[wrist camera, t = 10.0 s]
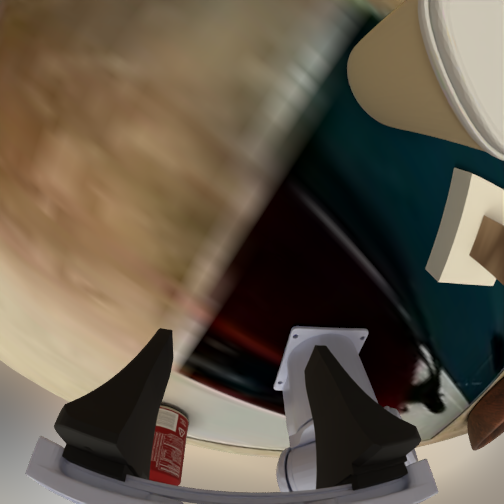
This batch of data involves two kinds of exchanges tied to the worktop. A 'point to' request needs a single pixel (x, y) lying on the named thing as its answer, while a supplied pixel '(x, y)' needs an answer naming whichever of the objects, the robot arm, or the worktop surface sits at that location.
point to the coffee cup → (436, 71)
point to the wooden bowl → (487, 417)
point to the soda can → (168, 446)
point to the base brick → (464, 229)
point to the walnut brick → (490, 247)
